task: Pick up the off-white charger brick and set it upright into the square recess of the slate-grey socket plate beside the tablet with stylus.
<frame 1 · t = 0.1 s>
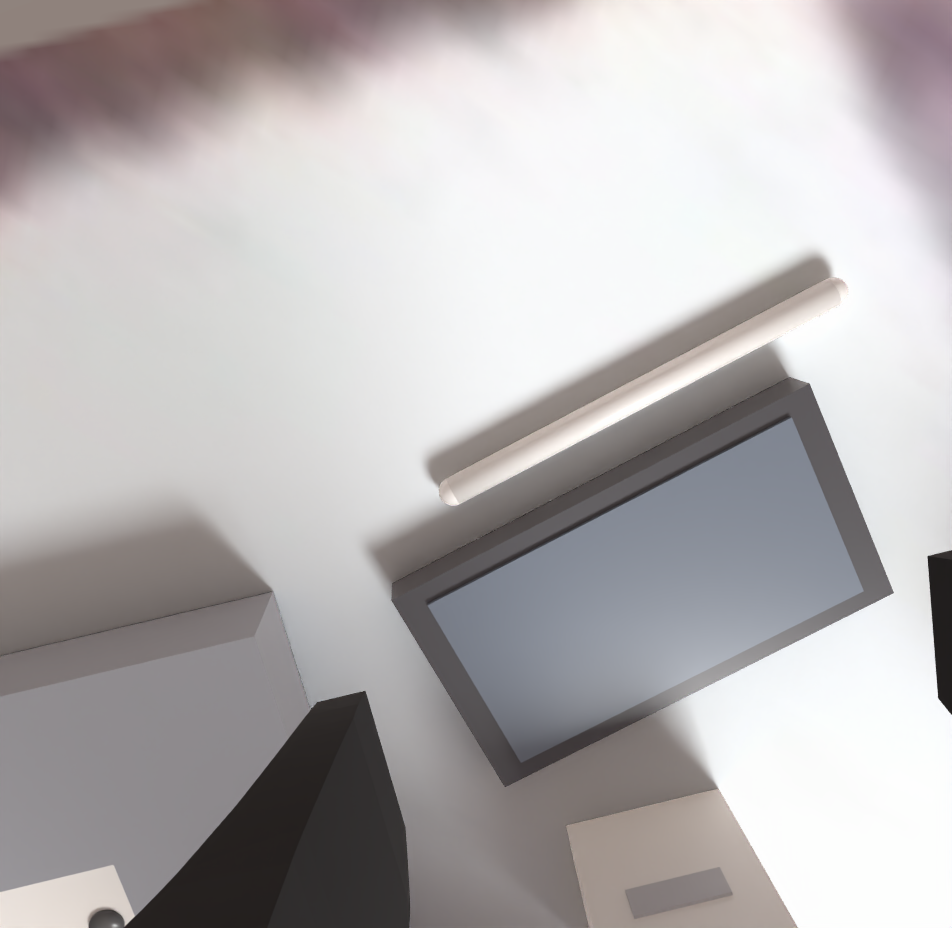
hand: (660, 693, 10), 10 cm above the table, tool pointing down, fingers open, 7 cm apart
socket plate: (69, 922, 22), on the table
charger brick: (654, 869, 23), on the table
tablet with stylus: (637, 580, 21), on the table
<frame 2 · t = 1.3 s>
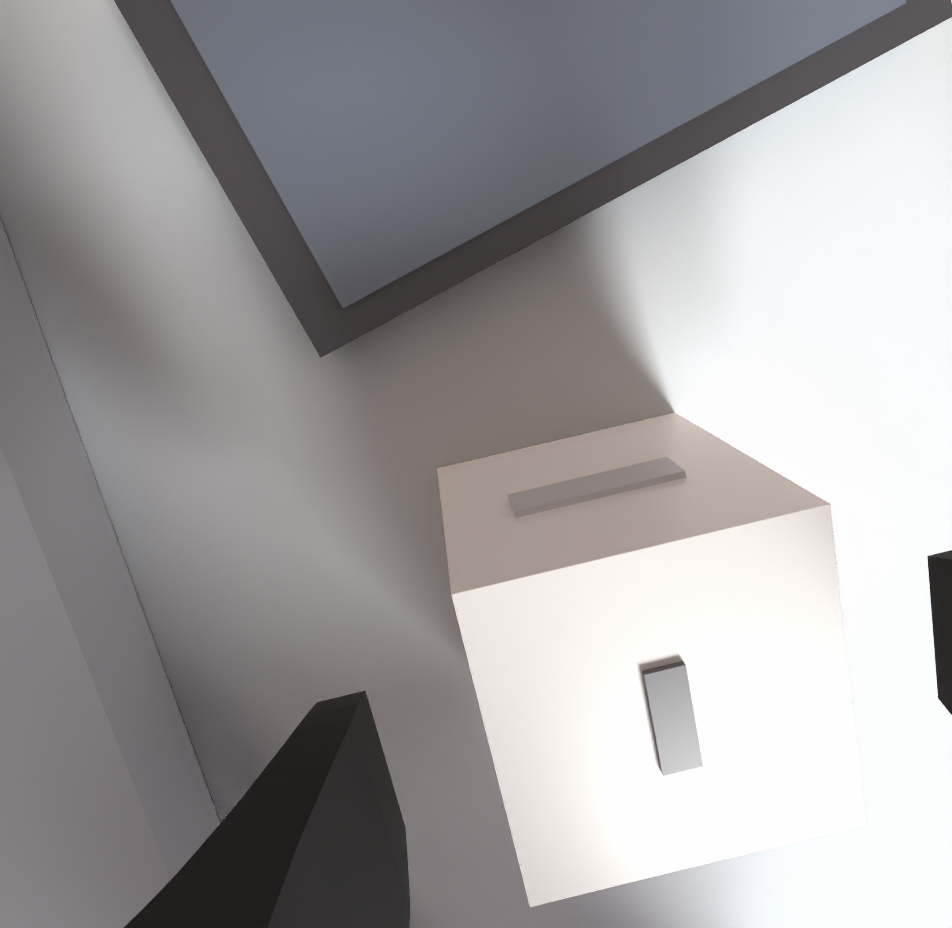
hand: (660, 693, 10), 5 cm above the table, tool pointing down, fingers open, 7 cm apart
charger brick: (578, 551, 15), on the table
tablet with stylus: (535, 17, 13), on the table
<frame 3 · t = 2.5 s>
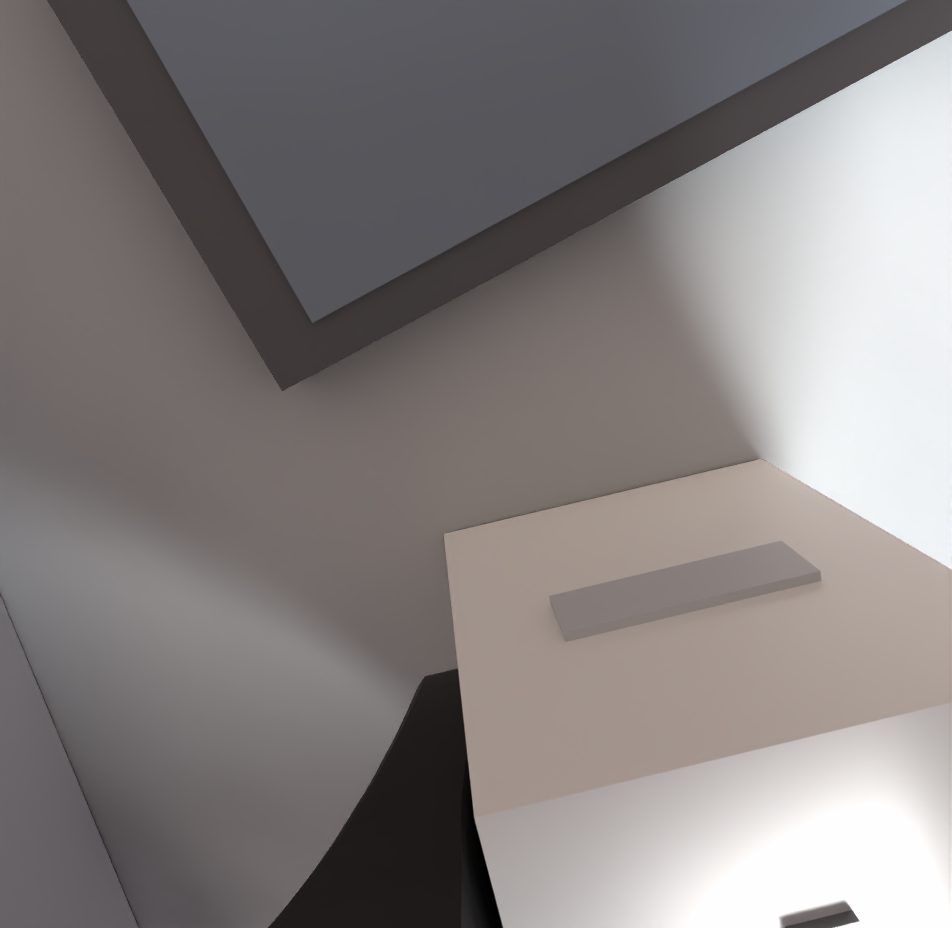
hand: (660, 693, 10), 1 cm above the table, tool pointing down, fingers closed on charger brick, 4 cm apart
charger brick: (630, 640, 11), on the table, touching gripper
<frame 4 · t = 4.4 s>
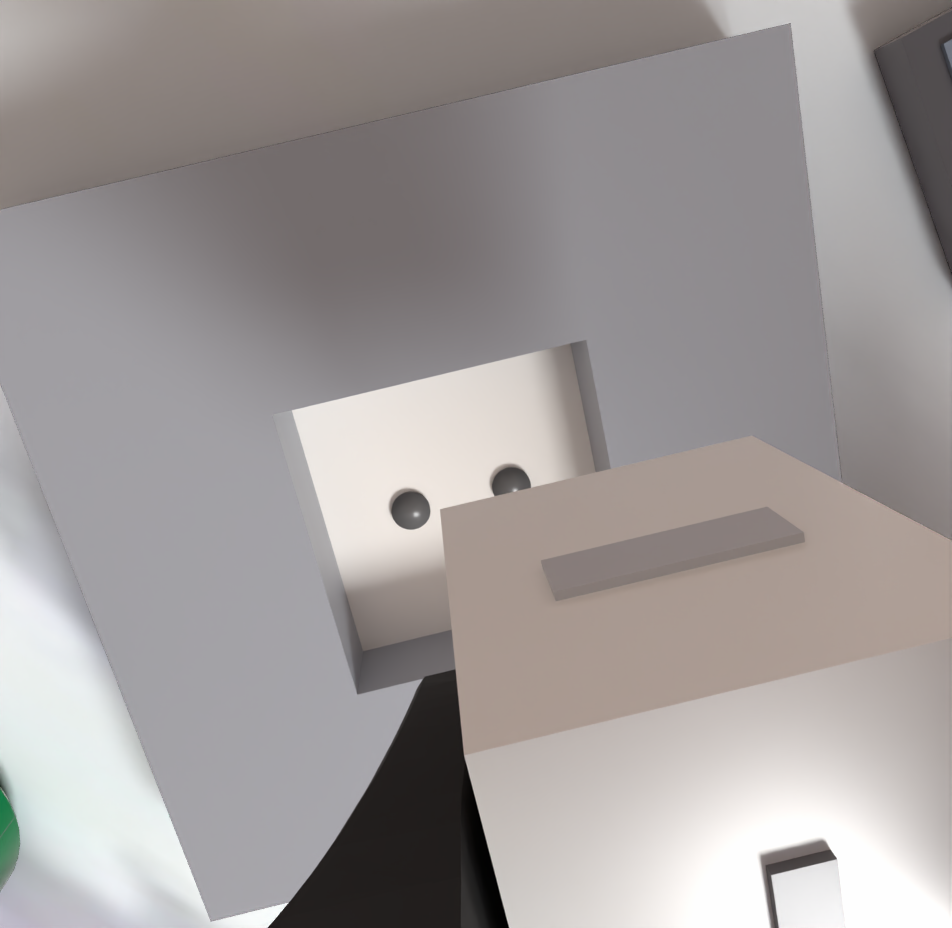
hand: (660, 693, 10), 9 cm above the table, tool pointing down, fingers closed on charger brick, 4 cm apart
socket plate: (460, 492, 19), on the table
charger brick: (623, 615, 12), point 8 cm above the table, touching gripper
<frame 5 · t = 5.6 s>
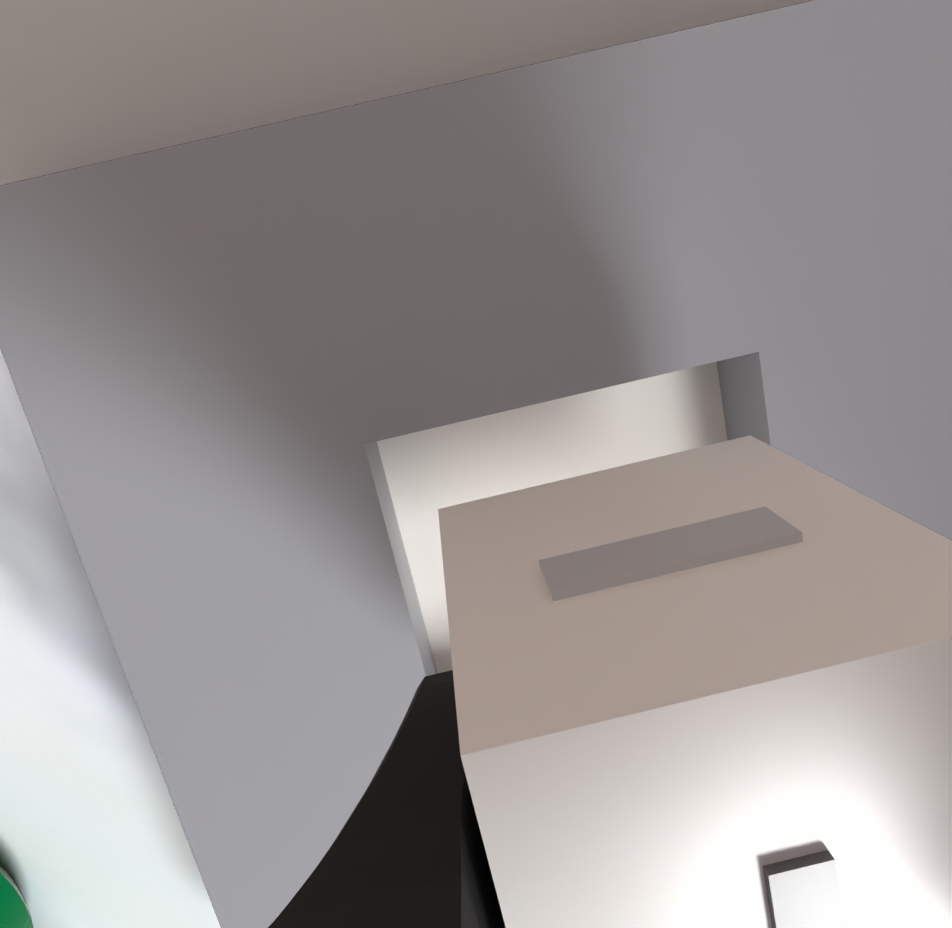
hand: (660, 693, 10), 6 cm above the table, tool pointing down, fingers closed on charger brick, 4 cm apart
socket plate: (571, 533, 16), on the table
charger brick: (622, 615, 11), point 4 cm above the table, touching gripper
when the fingers open (3 cm above the table, at t = 6.6 s): charger brick stays where it is, resting on socket plate.
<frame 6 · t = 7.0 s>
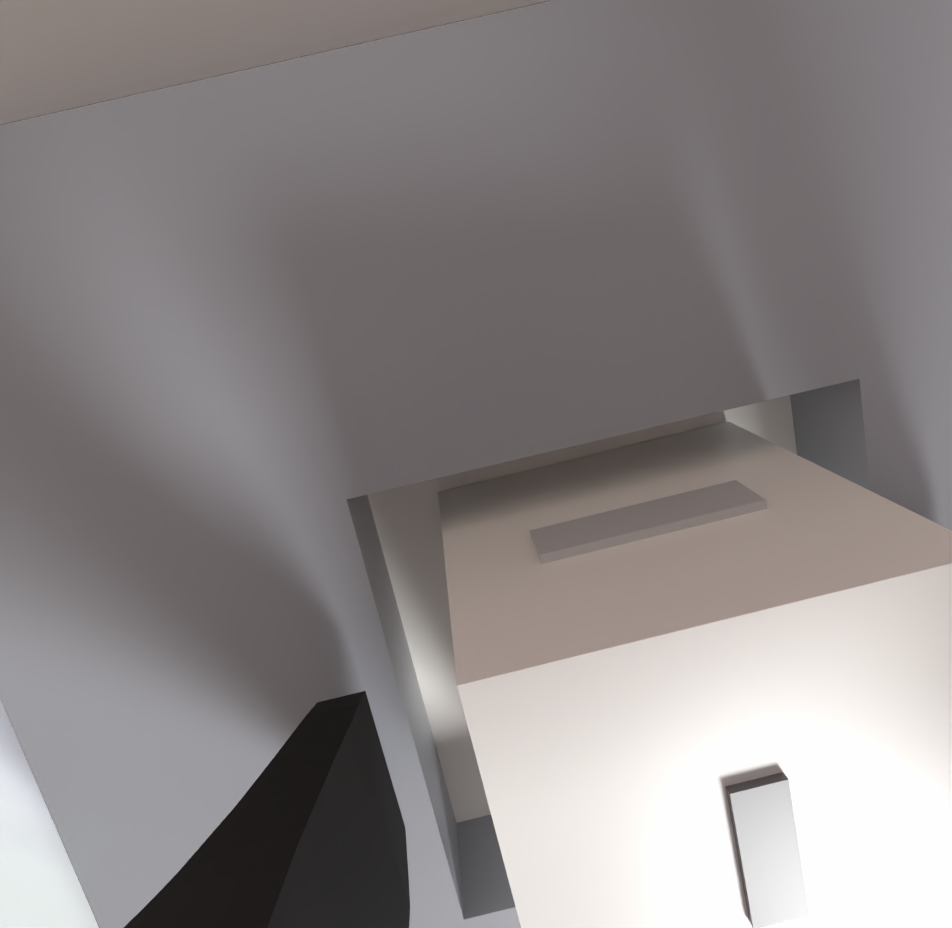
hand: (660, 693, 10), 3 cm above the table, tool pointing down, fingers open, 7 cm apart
socket plate: (604, 594, 13), on the table
charger brick: (611, 592, 12), point 1 cm above the table, touching socket plate
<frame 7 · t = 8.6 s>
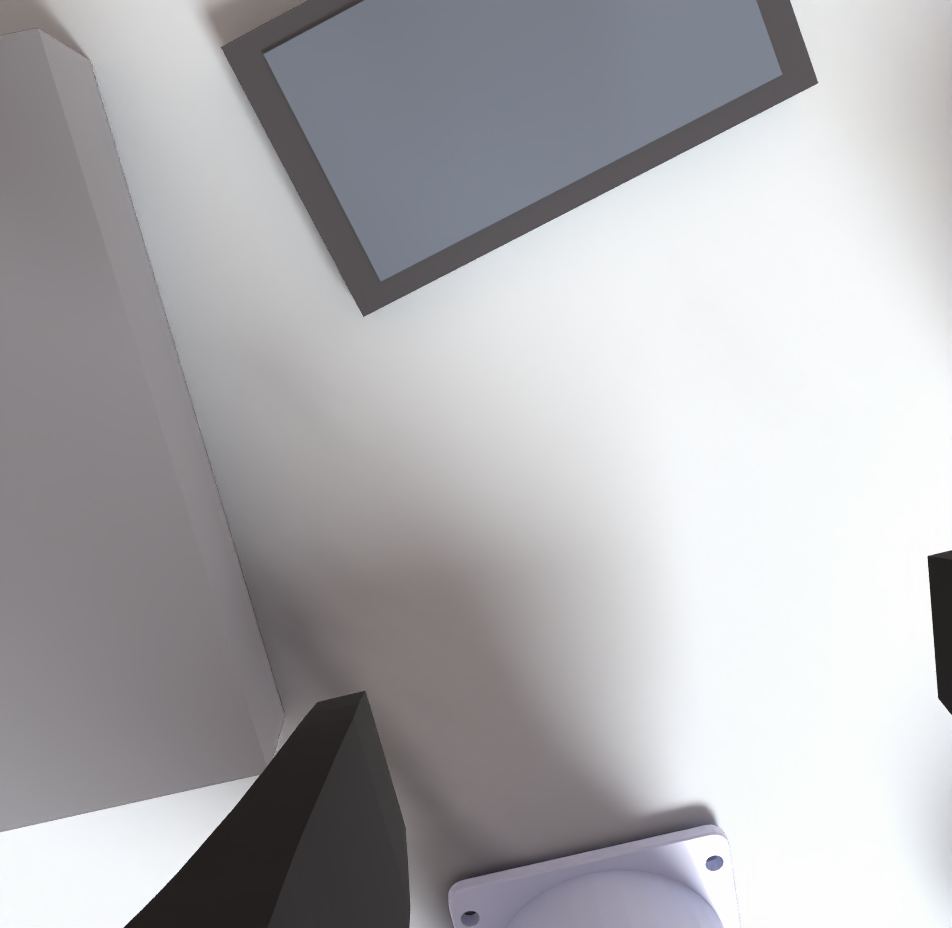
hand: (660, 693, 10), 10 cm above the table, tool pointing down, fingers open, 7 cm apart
tablet with stylus: (522, 76, 18), on the table
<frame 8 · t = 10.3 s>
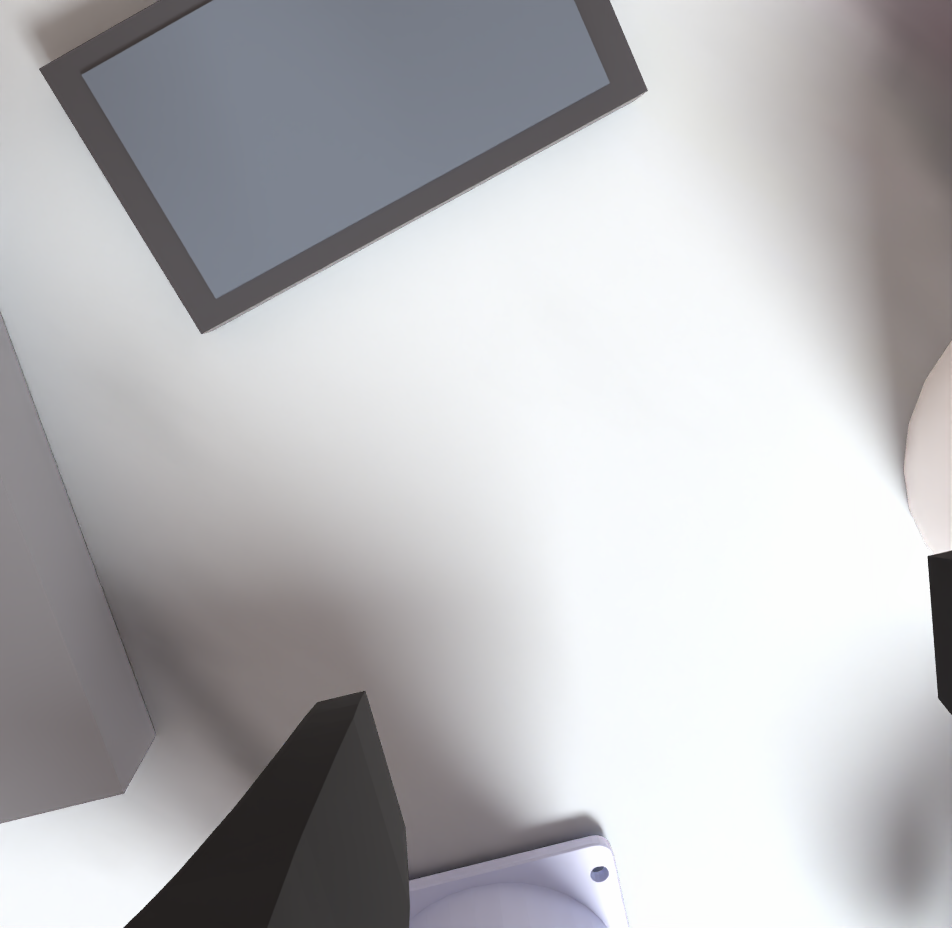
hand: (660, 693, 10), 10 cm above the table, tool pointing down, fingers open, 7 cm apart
tablet with stylus: (355, 90, 18), on the table
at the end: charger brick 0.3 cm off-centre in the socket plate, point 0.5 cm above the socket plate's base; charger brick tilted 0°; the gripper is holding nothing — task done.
